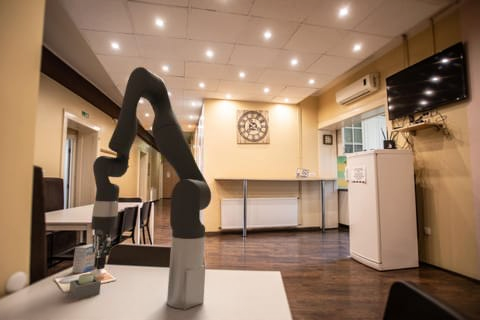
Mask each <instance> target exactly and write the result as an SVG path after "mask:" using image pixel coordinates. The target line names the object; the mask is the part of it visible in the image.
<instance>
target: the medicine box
mask: <svg viewBox="0 0 480 320" xmlns="http://www.w3.org/2000/svg"><path fill="white" fill-rule="evenodd" d="M73 255H74V257H73V263H72V264H73V265H72V273H75V274H82V273H87V272H91V271H93V270H95V269H96V268H95V267H94V260H95V256H96V255H94V252H93V242H92V243H91V242H90V243H88V244H83V245H80V246H77V247H74V254H73Z"/></svg>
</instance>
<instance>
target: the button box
mask: <svg viewBox="0 0 480 320" xmlns="http://www.w3.org/2000/svg"><path fill="white" fill-rule="evenodd" d="M78 280H79V279H78ZM78 280H73V281H71V282H70V290H69V292H68V294H70V296H71V297H72V299H73V300H74V301H76V300H81V299H84V298H87V297H88V298H89V297H92V296H95V295H99V294H100V293H101V285H102V284H101V281H100V280H98V279H97V278H96V277H95V276H94V278H93V283H88V284H84V285H78Z"/></svg>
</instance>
